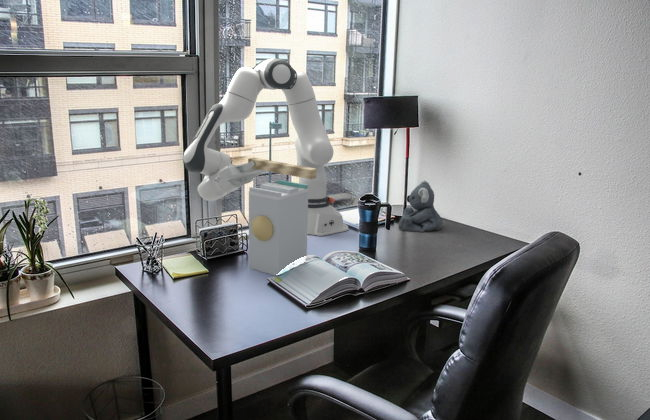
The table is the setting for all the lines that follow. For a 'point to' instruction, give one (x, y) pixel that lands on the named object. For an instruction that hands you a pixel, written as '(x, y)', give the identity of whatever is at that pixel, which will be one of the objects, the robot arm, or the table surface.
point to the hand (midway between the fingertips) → (258, 162)
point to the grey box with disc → (277, 225)
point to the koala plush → (421, 211)
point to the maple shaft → (284, 168)
